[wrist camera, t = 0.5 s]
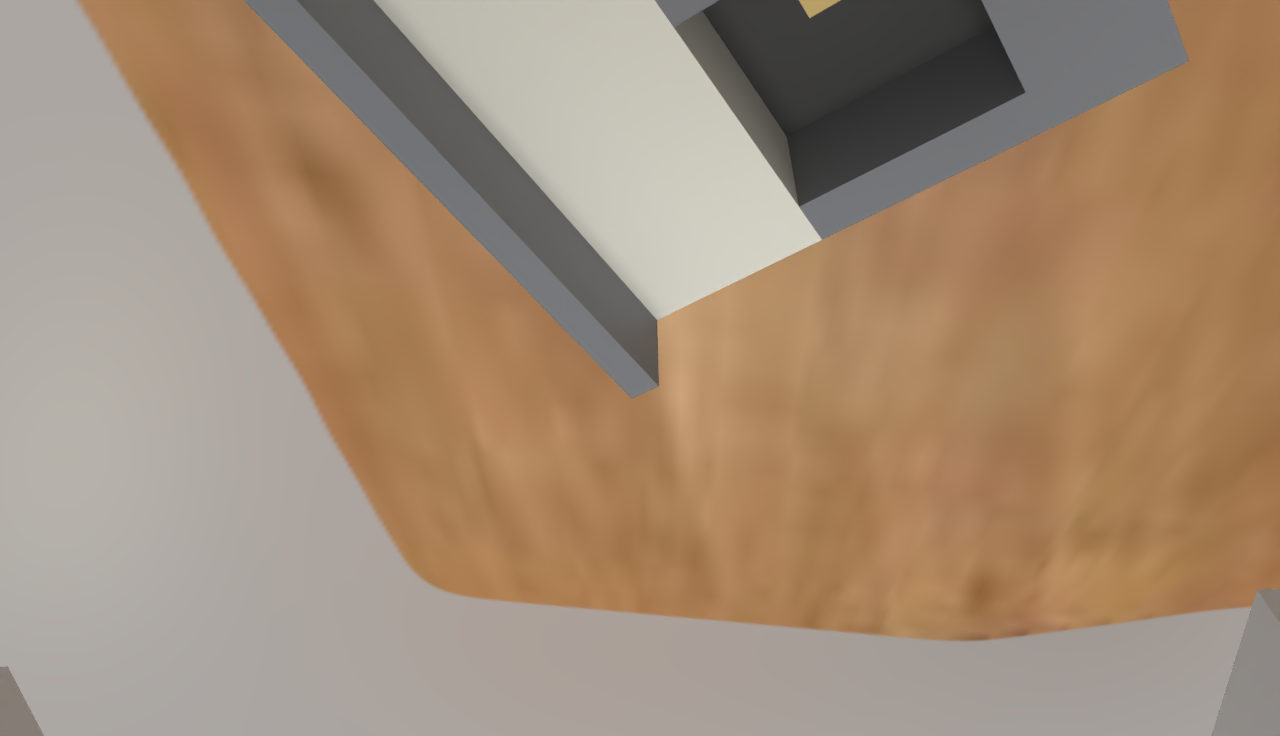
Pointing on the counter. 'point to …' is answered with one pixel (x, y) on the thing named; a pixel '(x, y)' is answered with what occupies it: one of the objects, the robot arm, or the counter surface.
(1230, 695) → the robot arm
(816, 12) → the ochre cube
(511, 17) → the tray
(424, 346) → the counter surface
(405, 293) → the counter surface
